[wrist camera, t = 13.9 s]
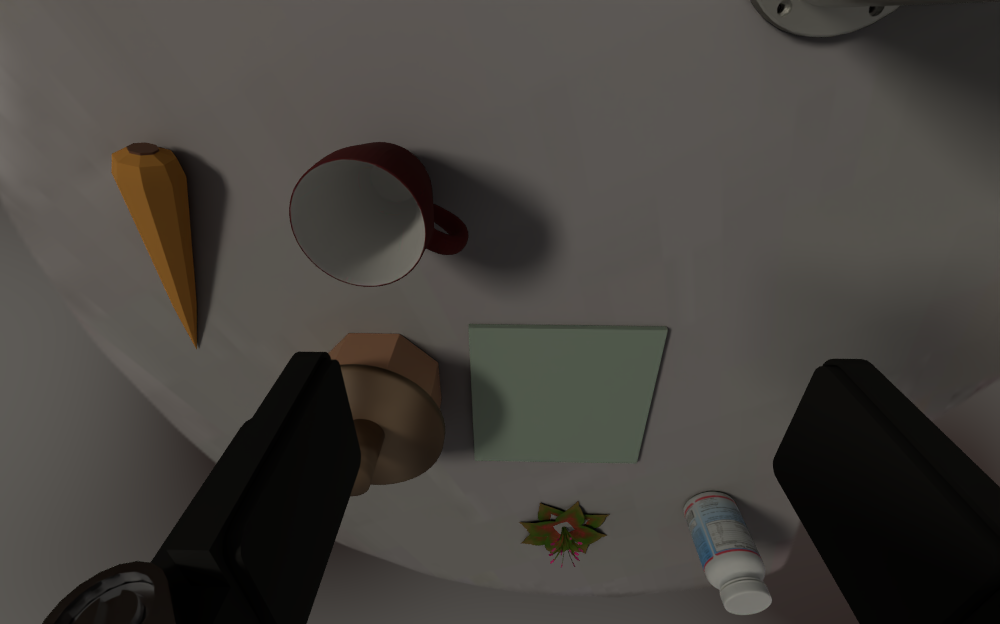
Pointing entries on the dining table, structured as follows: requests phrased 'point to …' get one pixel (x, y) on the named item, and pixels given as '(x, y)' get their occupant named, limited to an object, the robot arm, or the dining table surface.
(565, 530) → the lily flower
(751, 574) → the pill bottle
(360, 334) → the bowl
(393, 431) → the lid
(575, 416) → the mat
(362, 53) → the dining table surface
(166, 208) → the carrot
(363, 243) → the mug
